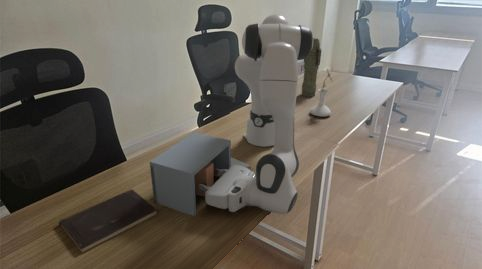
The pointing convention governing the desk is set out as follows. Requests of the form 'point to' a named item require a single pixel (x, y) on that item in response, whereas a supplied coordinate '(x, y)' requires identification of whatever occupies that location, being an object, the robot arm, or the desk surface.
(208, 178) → the block
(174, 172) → the cubby
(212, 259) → the desk surface
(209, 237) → the desk surface
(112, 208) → the hardcover book
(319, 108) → the flower in vase
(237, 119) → the desk surface
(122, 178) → the desk surface
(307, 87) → the thermos
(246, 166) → the hard drive
